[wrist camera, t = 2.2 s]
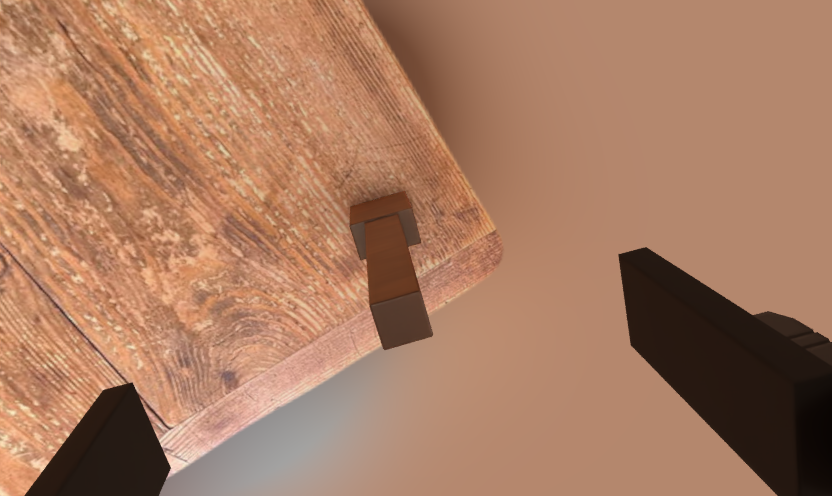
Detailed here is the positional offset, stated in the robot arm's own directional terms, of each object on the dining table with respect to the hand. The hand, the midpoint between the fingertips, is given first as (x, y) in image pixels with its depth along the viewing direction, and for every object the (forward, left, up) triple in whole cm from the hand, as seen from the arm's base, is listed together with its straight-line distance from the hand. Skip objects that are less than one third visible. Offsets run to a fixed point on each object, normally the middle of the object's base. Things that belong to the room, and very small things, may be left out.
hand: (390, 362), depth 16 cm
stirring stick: (0, +3, -27) cm, 27 cm away
